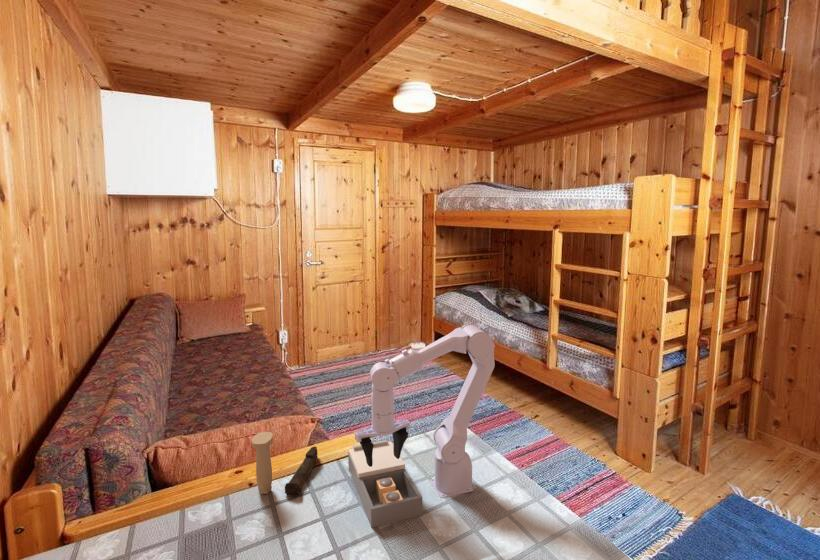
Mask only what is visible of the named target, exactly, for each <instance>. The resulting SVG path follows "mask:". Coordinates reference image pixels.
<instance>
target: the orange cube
mask: <svg viewBox="0 0 820 560" xmlns="http://www.w3.org/2000/svg"><path fill="white" fill-rule="evenodd" d="M392 491H396V485H395V484H394V482H393V480H392V478H391V477H388V478H383V479H378V480H376V495H377V497H378V499H379V502H380V504H382V503H383V494H384V493H388V492H392Z"/></svg>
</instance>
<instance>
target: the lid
mask: <svg viewBox="0 0 820 560" xmlns="http://www.w3.org/2000/svg"><path fill="white" fill-rule="evenodd" d="M371 442H372V441H371ZM372 443H373V445H374V446H373V453H372V460H373V464H372V466H371V467H369V466H368V464H367V461H366V457H365V454H364V451H363V448H362V446H361V444H356V445H355V444H354V445H353V446H352V448H348V453H349V456H350V458H351V461H352V463H353V466H354V468H355V471H356V473H357V476H358V478H363V477H368V476H373V475H378V474H383V473H387V472H392V471H395V470H400V469H405V470H406V463H405V462H404V460H403V459H402V457H401V456H400V458H399V459H397V458H396V457H395V456H394V452H393V446H394V443H392V441H388V439H384V440H378V441H373V442H372Z"/></svg>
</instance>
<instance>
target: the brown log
mask: <svg viewBox="0 0 820 560" xmlns="http://www.w3.org/2000/svg"><path fill="white" fill-rule="evenodd" d="M317 462H318V448H317V446H316V445H314V446H312V447H310V449H309V450H308V451H307V452H306V453H305V458H304V460H303V461H302V463H301V464H300V465H299V467H298V469H297V470H296V472H294V474H293V475H292V478H291V479H290V480H289V481H288V482H287V483H285V485H284V493H285V494H286V496H288V497H298V496H299V494H300V493H301V490H302V487H303V485H304V484H305V482H306V480H307V479H308V477H309V475H310V473H311V471H312V470H313V469H314V468H315V467H316V465H317Z"/></svg>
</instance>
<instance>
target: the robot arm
mask: <svg viewBox="0 0 820 560" xmlns="http://www.w3.org/2000/svg"><path fill="white" fill-rule="evenodd" d="M495 348H496V345H495V342H494V341H493V339H492V337H491V335H489V334H488V333H487V332H485V331H483V330H482V329H481V328H480V327H479V326H478V325H476V324H474V323H466V324H464V325H462V326H461V327H456V328H455V329H453V330H452V331H451V332H450V333H448V334H446V335H444V336H442V337H440V338H438V339H437V340H435V341H433V342H432V343H430V344H428V345H426V346H424V347H422V348H420V349H419V350H415V349H412V348H410V349H408V350H407V349H406V348H405V349H403V350H401V353H399V354H398V355H395V356H394V357H392V358H390V359H389V358H386V359H384V361H383V362H382V361H379V362H376V363H375V364H373V366H372V367H371V369H370V371H369V377H370V379H371V387H370V388H371V394H370V397H371V399H370V401H371V402H370V403H371V406H370V407H371V425H368V426H366V427H363V428H362V429H360V430H359V429H358V430H357V431H354V440H355V441H356V443H359V445H361V446H362V448H363V451H364V454H365V457H366V461H367V464H368V466H369V467H371V466H372V464H373V460H372V453H373V446H374V445H373V443H372V439H371V438H375V437H382V436H389V435H391V434H392V440H393V443H392V444H393V452H394V456H395V457H396V458H397V459H399V458H400V457H401V453H402V450H403V448H404V447H403V446H404V445H405V443H406V440H407V439H408V438H409V432H408V431H407V430H411V422H410V421H409V420H408V419H402V420H395V393H394V388H395V385H396V383H397V382H399V381H402V380H403V379H406V378H408V377H409V376H411V375H413V374H415V373H417V372H420V371H421V370H422V368H423V365H424V364H425V363H427V362H430V361H432V360H435V359H436V358H439V357H441V356H444V355H445V354H448V353H451V352H455V353H460V354H467V353H468V355H469V357H470V360H471V362H472V364H471V367H470V369H469V371H468V374H467V376H466V377H465V380H464V381H463V382H464V383H463V385H462V387H461V389H460V391H459V393H458V396H457V398H456V401H454V404H453V407H452V409H451V411H450V413H449V415H448V417H447V416H446V418H444V419H443V420H442V422H441V424H440V425H439V426H438V427H436V429H435V430H434V432H433V442H434V443H435V445H436V446H437V447H436V450H435V452H434V478H432V479H429V483H430V485H431V486H432V487H433V489H434V490H435V492H436V494H437V495H438V497H439V498H440V499H442V498H448V497H452V496H455V495H460V494H464V493H466V494H468V493H471V492H473V491H474V489H473V462H472V459H471V457H470V455H469V453H468V452H466V443H467V441H468V426H469V424H470V423H471V420H472V418H473V416H474V414H475V411H476V409H477V406H478V405H479V402H480V400H481V398H482V395H483V394H484V391H485V389H486V387H487V384H488V382H489V381H490V378H491V375H492V373H493V371H494V369H495V366H496V365H495V363H496V362H495V351H494V350H495Z"/></svg>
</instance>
